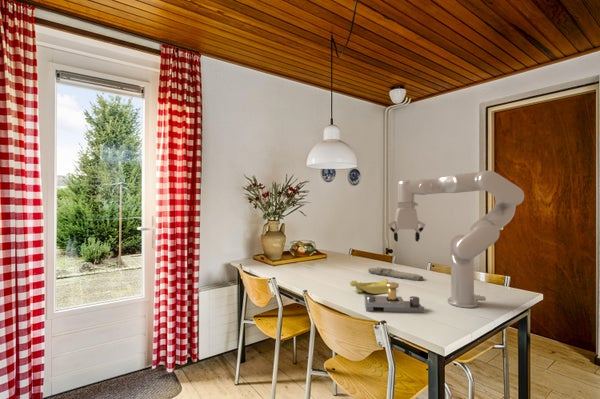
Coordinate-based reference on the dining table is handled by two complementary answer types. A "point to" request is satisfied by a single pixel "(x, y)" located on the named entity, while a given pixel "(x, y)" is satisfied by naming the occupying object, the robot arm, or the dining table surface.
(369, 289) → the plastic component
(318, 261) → the dining table surface
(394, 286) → the brass pin
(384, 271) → the elongated rock
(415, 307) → the grey mechanical device
